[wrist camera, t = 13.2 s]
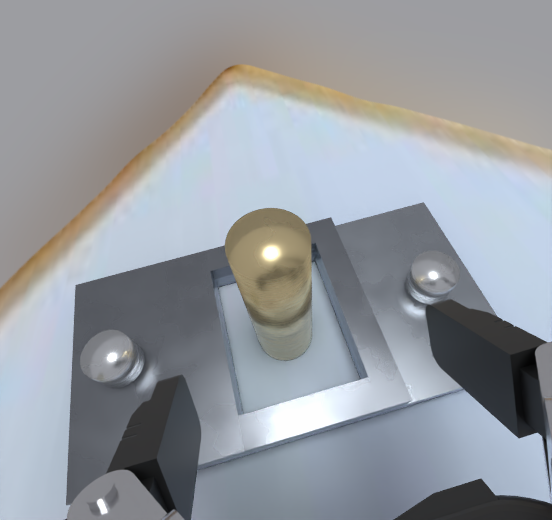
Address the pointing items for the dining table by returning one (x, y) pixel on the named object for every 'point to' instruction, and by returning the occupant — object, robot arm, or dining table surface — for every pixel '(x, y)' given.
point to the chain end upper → (205, 360)
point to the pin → (274, 278)
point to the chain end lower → (399, 294)
